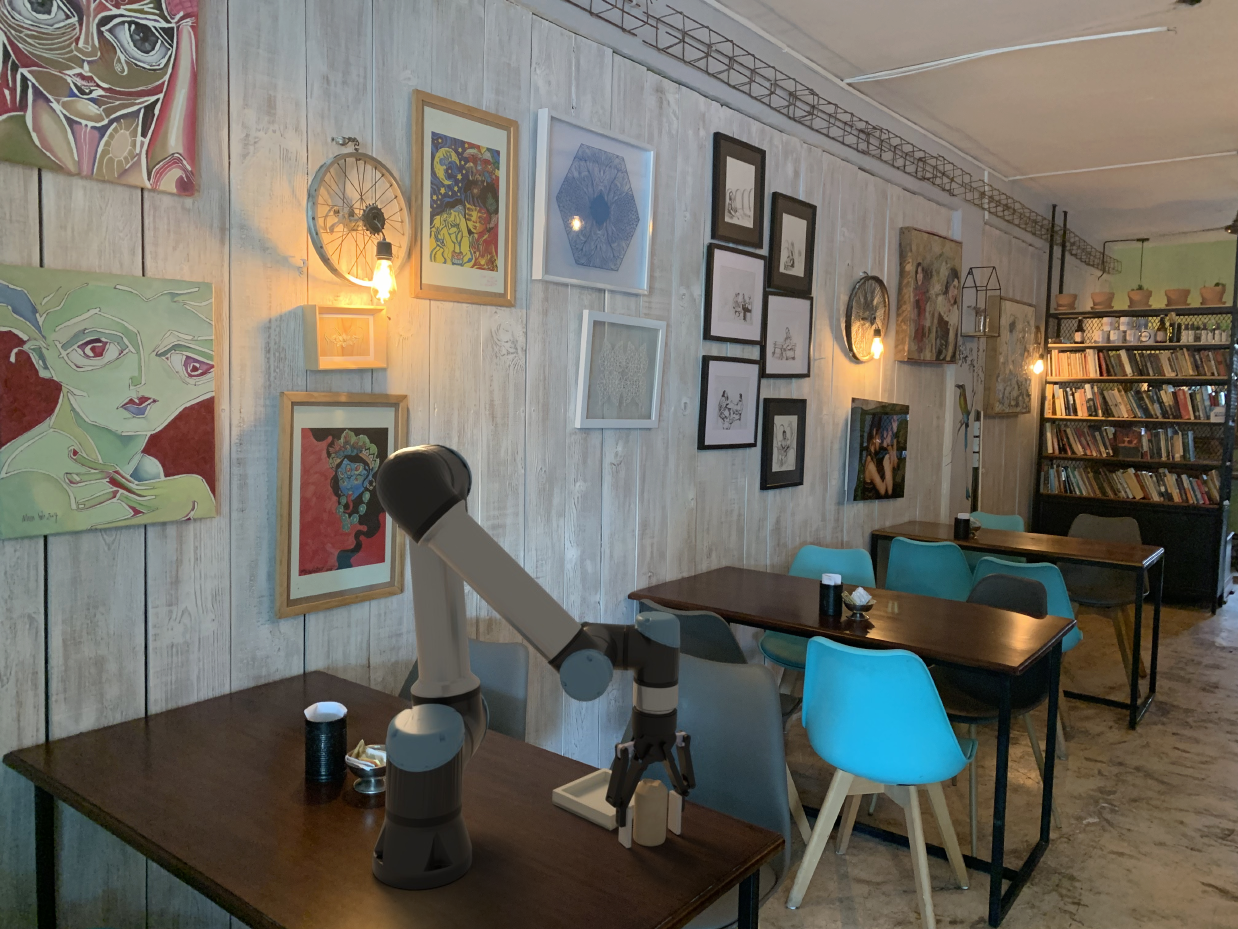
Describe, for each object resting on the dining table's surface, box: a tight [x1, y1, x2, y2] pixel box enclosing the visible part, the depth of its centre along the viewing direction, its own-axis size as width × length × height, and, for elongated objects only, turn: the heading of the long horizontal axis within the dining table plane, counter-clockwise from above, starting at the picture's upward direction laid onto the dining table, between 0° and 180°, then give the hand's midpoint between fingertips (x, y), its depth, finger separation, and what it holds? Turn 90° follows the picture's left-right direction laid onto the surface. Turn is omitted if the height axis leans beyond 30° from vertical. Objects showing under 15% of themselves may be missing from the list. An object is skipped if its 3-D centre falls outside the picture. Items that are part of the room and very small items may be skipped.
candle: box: [632, 778, 669, 847], centre depth 148 cm, size 6×6×10 cm
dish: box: [551, 767, 641, 831], centre depth 160 cm, size 14×14×2 cm
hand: (649, 837), depth 148 cm, fingers open, 9 cm apart
